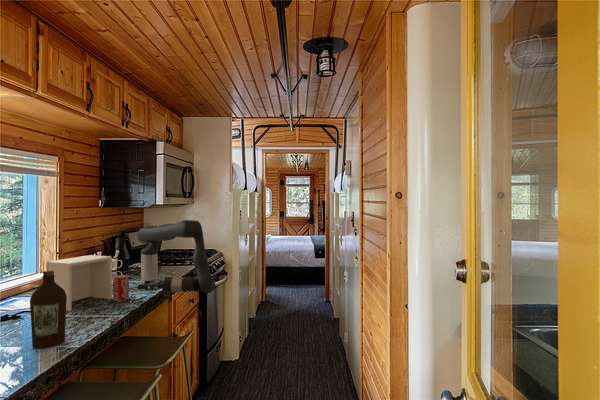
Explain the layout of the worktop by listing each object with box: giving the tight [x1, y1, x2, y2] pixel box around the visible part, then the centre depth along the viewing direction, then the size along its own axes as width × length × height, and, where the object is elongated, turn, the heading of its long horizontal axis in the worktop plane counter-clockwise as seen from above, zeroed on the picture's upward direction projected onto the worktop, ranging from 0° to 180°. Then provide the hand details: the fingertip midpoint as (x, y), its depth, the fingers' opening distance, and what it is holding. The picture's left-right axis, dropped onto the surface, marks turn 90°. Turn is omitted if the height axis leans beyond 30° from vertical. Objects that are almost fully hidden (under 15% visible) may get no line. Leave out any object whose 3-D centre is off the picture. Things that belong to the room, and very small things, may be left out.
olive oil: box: [29, 270, 67, 349], centre depth 129 cm, size 11×11×25 cm
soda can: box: [112, 274, 130, 303], centre depth 184 cm, size 7×7×12 cm
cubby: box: [46, 254, 113, 312], centre depth 180 cm, size 15×22×21 cm
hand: (141, 284), depth 185 cm, fingers open, 8 cm apart
